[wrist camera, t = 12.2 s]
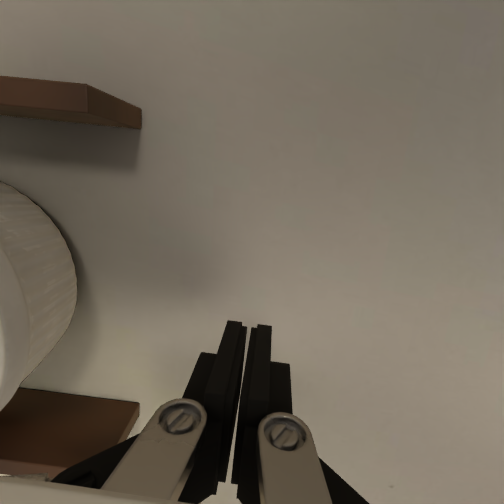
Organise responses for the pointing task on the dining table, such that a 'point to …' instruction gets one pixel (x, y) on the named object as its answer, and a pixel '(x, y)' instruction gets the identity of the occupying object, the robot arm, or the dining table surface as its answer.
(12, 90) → the frame
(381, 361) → the dining table surface
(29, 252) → the ramekin
